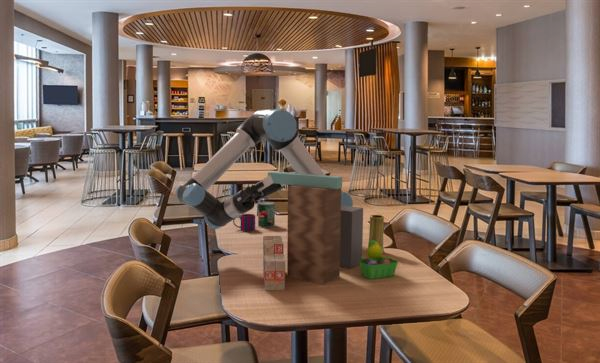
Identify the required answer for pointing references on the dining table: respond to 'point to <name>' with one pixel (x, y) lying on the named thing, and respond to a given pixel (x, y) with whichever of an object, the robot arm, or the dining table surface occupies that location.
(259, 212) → the canned tomato
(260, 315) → the dining table surface
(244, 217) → the mug
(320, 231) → the stand
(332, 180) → the bar
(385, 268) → the fruit basket
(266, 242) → the stack of blocks
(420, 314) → the dining table surface
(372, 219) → the vase
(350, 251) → the step
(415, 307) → the dining table surface
